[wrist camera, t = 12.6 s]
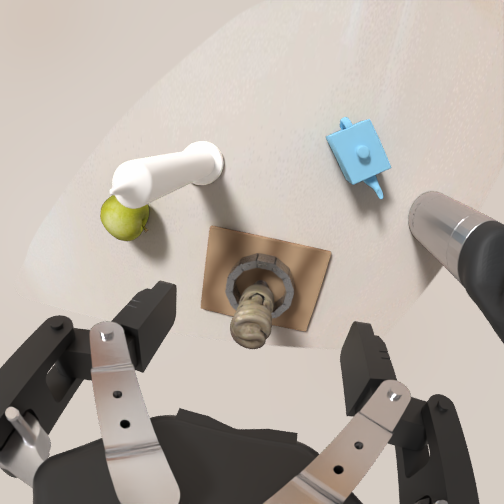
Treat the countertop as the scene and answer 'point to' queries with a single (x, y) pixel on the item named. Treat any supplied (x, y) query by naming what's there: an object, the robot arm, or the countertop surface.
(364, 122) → the teapot
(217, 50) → the countertop surface
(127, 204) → the candle
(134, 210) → the apple
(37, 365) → the robot arm
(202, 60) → the countertop surface
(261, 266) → the ring seat
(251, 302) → the light bulb
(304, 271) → the board
